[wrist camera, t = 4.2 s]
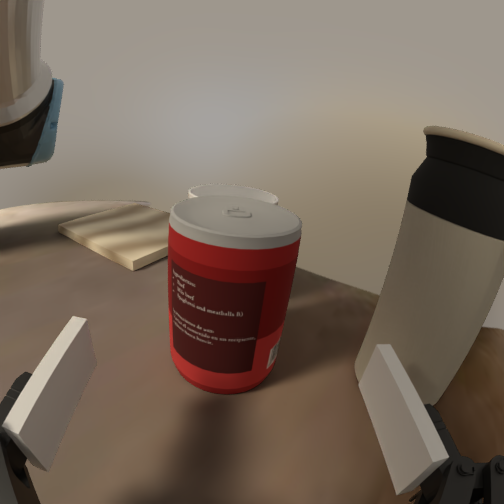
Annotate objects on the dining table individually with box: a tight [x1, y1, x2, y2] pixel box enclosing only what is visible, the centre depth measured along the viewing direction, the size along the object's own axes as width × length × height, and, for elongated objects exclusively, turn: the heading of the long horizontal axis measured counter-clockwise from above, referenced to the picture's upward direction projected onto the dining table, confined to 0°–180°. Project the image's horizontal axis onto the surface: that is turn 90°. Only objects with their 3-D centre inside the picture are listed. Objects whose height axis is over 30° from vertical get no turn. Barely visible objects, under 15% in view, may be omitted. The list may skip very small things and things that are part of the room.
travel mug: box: [355, 126, 504, 406], centre depth 17 cm, size 8×8×18 cm
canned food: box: [168, 196, 302, 394], centre depth 20 cm, size 8×8×11 cm
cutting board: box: [58, 203, 170, 271], centre depth 42 cm, size 18×16×1 cm
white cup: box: [188, 184, 279, 205], centre depth 28 cm, size 8×8×10 cm
